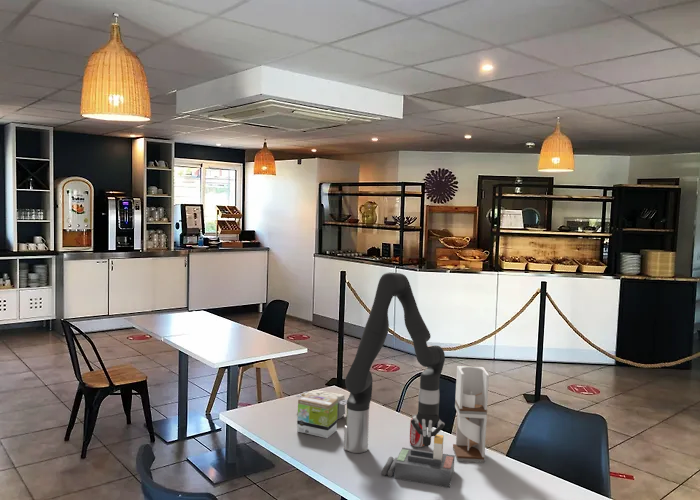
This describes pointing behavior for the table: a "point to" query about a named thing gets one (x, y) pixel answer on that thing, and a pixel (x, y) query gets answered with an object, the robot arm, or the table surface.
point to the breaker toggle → (438, 447)
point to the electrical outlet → (340, 397)
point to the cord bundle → (389, 467)
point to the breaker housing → (424, 467)
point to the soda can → (415, 435)
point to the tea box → (317, 415)
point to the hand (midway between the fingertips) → (426, 445)
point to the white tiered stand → (471, 413)
